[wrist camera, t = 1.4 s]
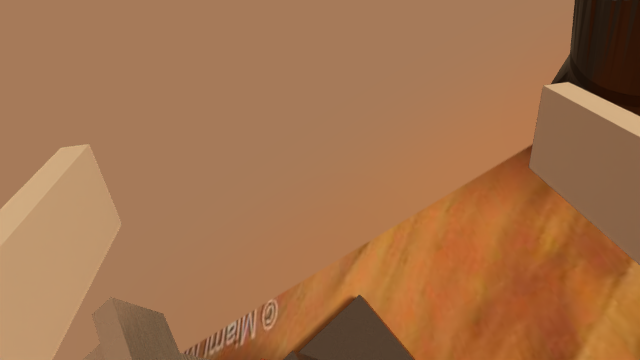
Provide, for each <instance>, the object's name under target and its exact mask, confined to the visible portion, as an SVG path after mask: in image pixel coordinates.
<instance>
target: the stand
mask: <svg viewBox="0 0 640 360" xmlns="http://www.w3.org/2000/svg"><path fill="white" fill-rule="evenodd" d="M260 360H266V359H262V358H261V359H260ZM284 360H415V359H414V357H413V356H412V355H411V354H410V353H409V351H408V350H407V349H406V348H405V347H404V345H403V344H402V343H401V342H400V341H399V340H398V338H397V337H396V336H395V335H394V334H393V332H392V331H391V330H390V329H389V328H388V326H387V325H386V324H385V323H384V322H383V320H382V319H381V318H380V317H379V316H378V314H377V313H376V312H375V311H374V310H373V308H372V307H371V306H370V305H369V304H368V302H367V301H366V300H365V299H364V298H363V297H362V296H361V295H359V296H358V297H357V298H356V299H355V300H354V301H352V302H351V303H350V304H349V305H348V306H347V307H346V308H345V309H344V310H343V311H342V312H341V313H340V314H339V315H338V316H337V317H335V318H334V319H333V320H332V321H331V322H330V323H329V324H328V325H327V326H326V327H325V328H324V329H323V330H322V331H321V332H320V333H318V334H317V335H316V336H315V337H314V338H313V339H312V340H311V341H310V342H309V343H308V344H307V345H306V346H305V347H304V348H302V349H301V350H300V351H299V352H295V351H292V352H291V353H290V354H289V355H288V356H287V357H286V358H285V359H284Z"/></svg>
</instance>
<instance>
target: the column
mask: <svg viewBox="0 0 640 360" xmlns="http://www.w3.org/2000/svg"><path fill="white" fill-rule="evenodd" d="M92 316H93V320H94V323H95V327H96V330H97V334H98V337H99V341H100V344H99V345H98V346H97V347H96V348H95V349H94V350H93V351H92V352H91V353H90V354H89V355H87V356H86V357H85V358H84V359H83V360H209V359H205V358H201V357H196V356H192V355H187V354H183V353H180V352H179V350H178V348H177V345H176V343H175V340H174V338H173V336H172V333H171V331H170V329H169V326H168V324H167V322H166V319H165V317H164V315H163V314H162V313H159V312H156V311H153V310H150V309H146V308H143V307H140V306H137V305H134V304H131V303H128V302H124V301H121V300H118V299H115V298H112V297H111V298H110V299H109V300H107V301H106V302H105V303H104V304H103V305H102V306H101V307H100V308H99V309H98V310H97V311H95V312H94V313H93V314H92Z"/></svg>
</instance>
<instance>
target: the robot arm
mask: <svg viewBox="0 0 640 360" xmlns="http://www.w3.org/2000/svg"><path fill="white" fill-rule="evenodd" d="M529 168H530V169H531V170H532V171H533V172H534V173H535V174H537V175H538V176H539V177H540V178H541V179H542V180H543V181H545V182H546V183H547V184H548V185H549V186H550V187H551V188H553V189H554V190H555V191H556V192H557V193H558V194H559V195H560V196H562V197H563V198H564V199H565V200H566V201H567V202H568V203H570V204H571V205H572V206H573V207H574V208H575V209H576V210H578V211H579V212H580V213H581V214H582V215H583V216H584V217H585V218H587V219H588V220H589V221H590V222H591V223H592V224H593V225H595V226H596V227H597V228H598V229H599V230H600V231H601V232H603V233H604V234H605V235H606V236H607V237H608V238H609V239H611V240H612V241H613V242H614V243H615V244H616V245H617V246H618V247H620V248H621V249H622V250H623V251H624V252H625V253H626V254H628V255H629V256H630V257H631V258H632V259H633V260H634V261H636V262H637V263H638V264H639V265H640V0H575V6H574V16H573V27H572V38H571V50H570V55H569V56H568V58H567V59H566V61H565V62H564V64H563V66H562V67H561V69H560V70H559V72H558V74H557V75H556V77H555V78H554V80H553V81H552V83H551V84H550V85H543V90H542V95H541V101H540V107H539V112H538V118H537V123H536V129H535V135H534V140H533V146H532V151H531V157H530V163H529ZM120 226H121V221H120V218H119V216H118V214H117V211H116V209H115V206H114V204H113V202H112V199H111V197H110V194H109V192H108V189H107V187H106V184H105V182H104V180H103V177H102V175H101V172H100V170H99V167H98V165H97V162H96V160H95V158H94V155H93V153H92V150H91V148H90V145H89V144H86V145H78V146H71V147H63V148H60V149H59V150H58V152H56V153H55V154H54V156H53V157H52V158H50V159H49V160H48V162H47V163H46V164H45V165H44V166H43V167H42V168H41V169H40V170H39V171H38V172H37V173H36V174H35V175H34V176H33V177H32V178H31V179H30V180H29V181H28V182H27V183H26V184H25V185H24V186H23V187H22V188H21V189H20V190H19V191H18V192H17V193H16V194H15V195H14V196H13V197H12V198H11V199H10V200H9V201H8V202H7V203H6V204H5V205H4V206H3V207H2V208H1V209H0V360H52V359H53V357H54V356H55V354H56V352H57V350H58V348H59V346H60V344H61V342H62V340H63V338H64V336H65V334H66V332H67V330H68V328H69V326H70V324H71V322H72V320H73V318H74V316H75V314H76V312H77V310H78V308H79V307H80V305H81V302H82V300H83V299H84V297H85V295H86V293H87V291H88V289H89V287H90V285H91V283H92V281H93V279H94V277H95V275H96V273H97V271H98V269H99V267H100V265H101V263H102V261H103V259H104V258H105V256H106V253H107V252H108V249H109V248H110V246H111V244H112V242H113V240H114V238H115V236H116V234H117V232H118V230H119V228H120Z"/></svg>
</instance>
